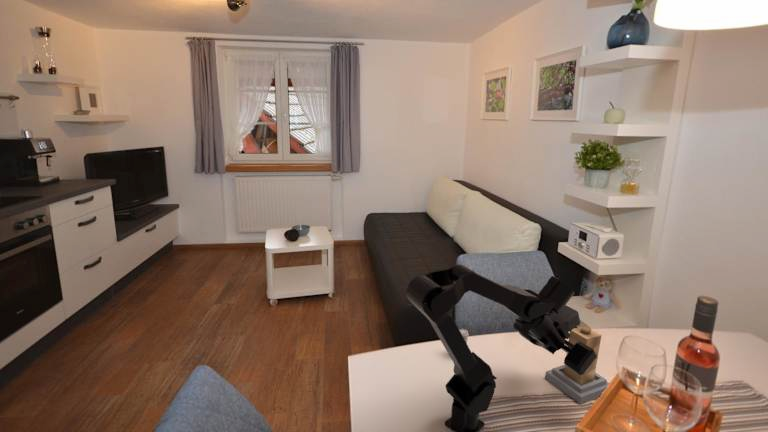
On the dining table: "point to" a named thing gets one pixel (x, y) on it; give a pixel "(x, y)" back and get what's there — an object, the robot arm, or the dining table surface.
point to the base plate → (577, 385)
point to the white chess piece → (464, 334)
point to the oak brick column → (589, 339)
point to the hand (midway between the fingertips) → (569, 358)
